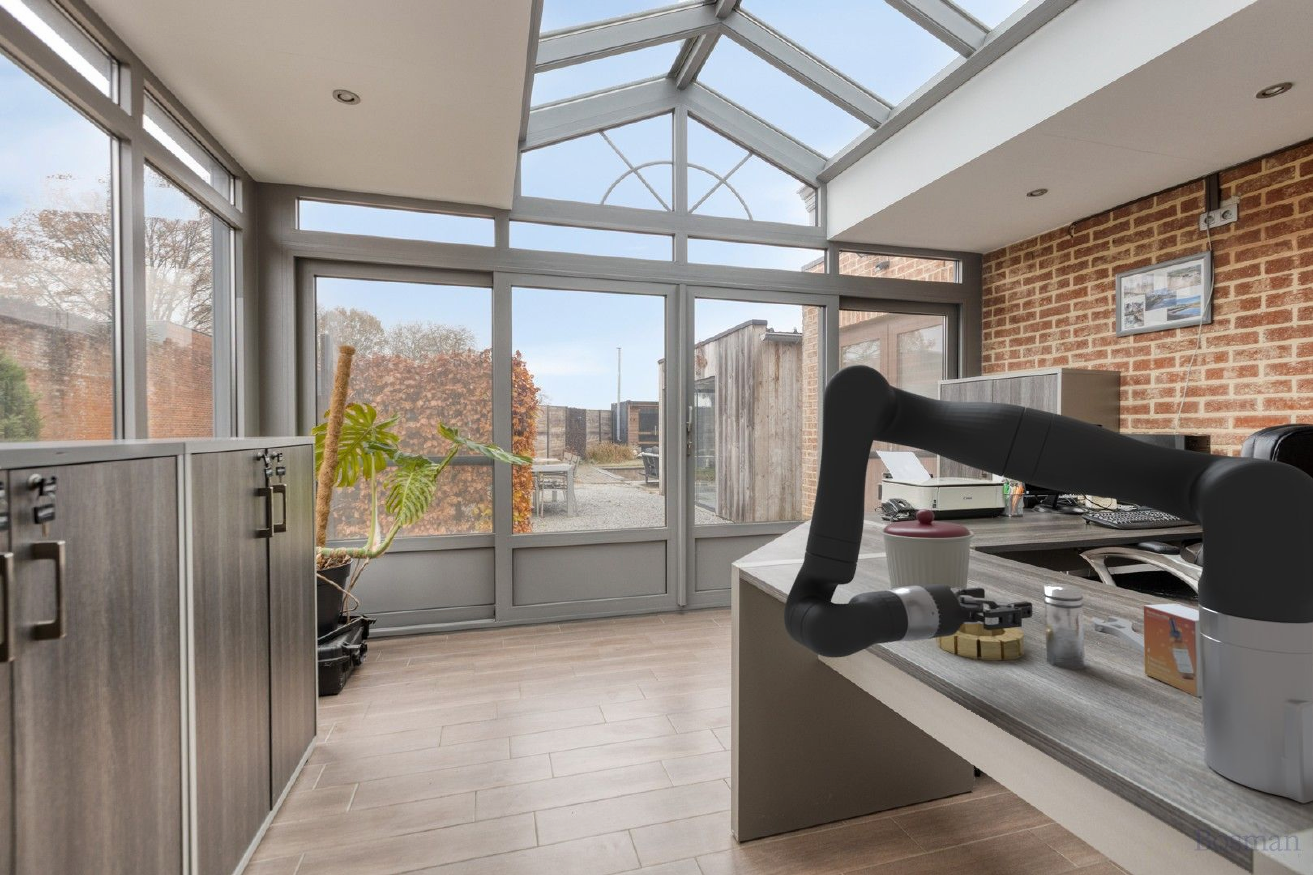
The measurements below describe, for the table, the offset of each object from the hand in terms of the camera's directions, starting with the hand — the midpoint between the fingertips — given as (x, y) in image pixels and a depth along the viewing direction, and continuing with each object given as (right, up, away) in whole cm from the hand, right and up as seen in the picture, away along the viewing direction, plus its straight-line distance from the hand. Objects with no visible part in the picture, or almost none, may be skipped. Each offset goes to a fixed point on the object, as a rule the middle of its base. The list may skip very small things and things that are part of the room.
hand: (1005, 601), depth 92 cm
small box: (+22, -10, -6) cm, 25 cm away
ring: (+2, -11, +12) cm, 16 cm away
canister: (+4, -11, +34) cm, 36 cm away
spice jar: (+11, -11, +3) cm, 16 cm away
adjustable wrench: (+28, -11, +10) cm, 32 cm away
